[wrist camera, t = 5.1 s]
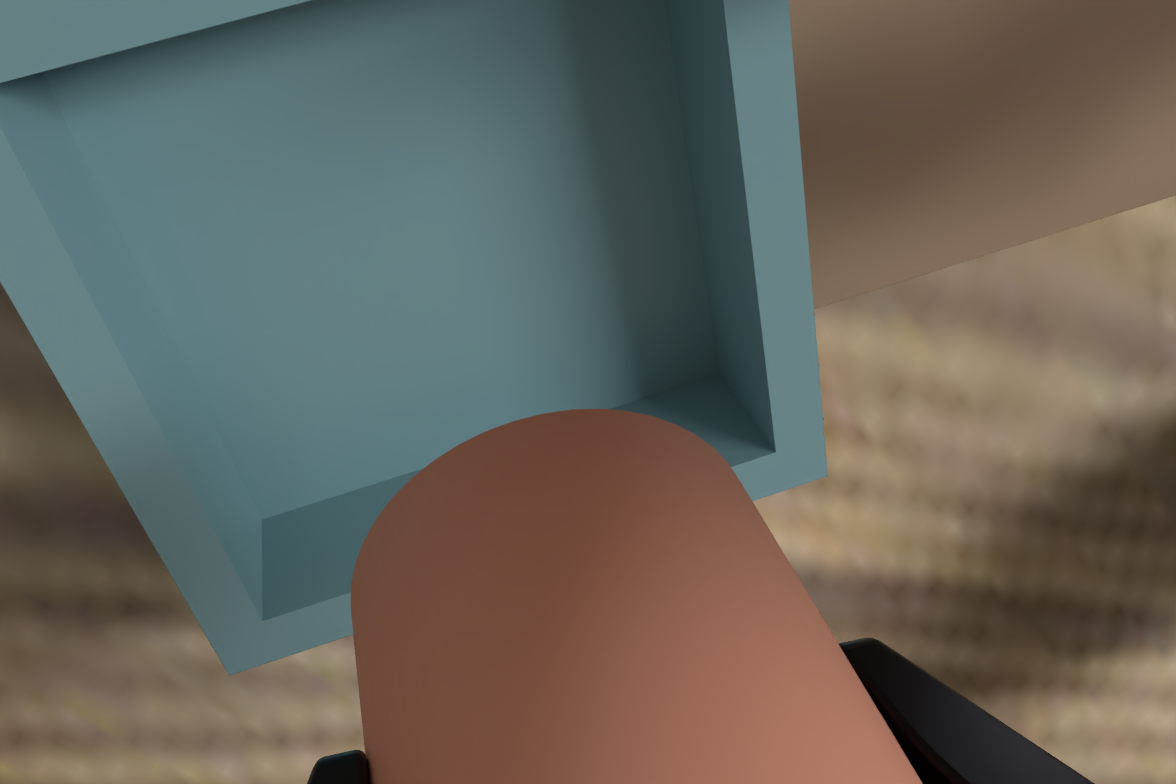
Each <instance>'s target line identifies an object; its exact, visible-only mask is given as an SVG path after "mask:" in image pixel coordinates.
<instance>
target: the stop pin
mask: <svg viewBox="0 0 1176 784" xmlns="http://www.w3.org/2000/svg"><path fill="white" fill-rule="evenodd" d="M350 607H351V617H352V626H353V636H354V646H355V656H356V666H357V676H358V686H359V696H360V706H361V716H362V725H363V735H364V745H365V755H366V759H367V764H368V774H369V783H370V784H923V783H922V782H921V780H920V778H919V777H918V775H917V773H916V772H915V770H914V768H913V767H912V765H911V764H910V762H909V760H908V759H907V757H906V755H905V754H904V752H903V750H902V749H901V747H900V745H899V744H898V742H897V740H896V739H895V737H894V735H893V734H892V732H891V730H890V729H889V727H888V725H887V724H886V722H885V720H884V719H883V717H882V715H881V714H880V712H879V711H878V709H877V707H876V706H875V704H874V702H873V701H872V699H871V697H870V696H869V694H868V692H867V691H866V689H865V687H864V686H863V684H862V682H861V681H860V679H859V677H858V676H857V674H856V672H855V671H854V669H853V667H852V666H851V664H850V662H849V661H848V659H847V658H846V656H845V654H844V653H843V651H842V649H841V648H840V646H839V644H838V643H837V641H836V639H835V638H834V636H833V634H832V633H831V631H830V629H829V628H828V626H827V624H826V623H825V621H824V619H823V618H822V616H821V614H820V613H819V611H818V609H817V608H816V606H815V604H814V603H813V601H812V600H811V598H810V596H809V595H808V593H807V591H806V590H805V588H804V586H803V585H802V583H801V581H800V580H799V578H798V576H797V575H796V573H795V571H794V570H793V568H792V566H791V565H790V563H789V561H788V560H787V558H786V556H785V555H784V553H783V551H782V550H781V548H780V547H779V545H778V543H777V542H776V540H775V538H774V537H773V535H772V533H771V532H770V530H769V528H768V527H767V525H766V523H765V522H764V520H763V518H762V517H761V515H760V513H759V512H758V510H757V508H756V507H755V505H754V503H753V502H752V500H751V498H750V497H749V495H748V494H747V492H746V490H745V489H744V487H743V485H742V484H741V482H740V480H739V479H738V477H737V476H736V474H735V473H734V471H733V470H732V468H731V466H730V465H729V464H728V463H727V461H726V460H725V459H724V458H723V457H722V456H721V455H720V454H719V453H718V452H717V451H716V450H715V449H714V448H713V447H711V446H710V445H709V444H708V443H706V442H705V441H704V440H702V439H701V438H700V437H698V436H697V435H695V434H693V433H691V432H689V431H687V430H686V429H684V428H682V427H680V426H678V425H676V424H673V423H670V422H668V421H665V420H662V419H659V418H656V417H654V416H649V415H644V414H640V413H635V412H630V411H622V410H611V409H572V410H565V411H558V412H551V413H544V414H539V415H535V416H532V417H528V418H524V419H520V420H516V421H512V422H510V423H507V424H504V425H501V426H499V427H496V428H493V429H491V430H488V431H485V432H483V433H481V434H479V435H477V436H475V437H473V438H471V439H469V440H467V441H465V442H463V443H461V444H459V445H457V446H456V447H454V448H452V449H451V450H449V451H448V452H446V453H445V454H443V455H441V456H440V457H438V458H437V459H435V460H434V461H432V462H431V463H430V464H429V465H427V466H426V467H425V468H424V469H422V470H421V471H420V472H419V473H417V474H416V475H415V476H414V477H412V478H411V479H410V480H409V481H408V482H407V483H406V484H405V485H404V486H403V487H402V488H401V489H400V490H399V491H398V492H397V493H396V494H395V495H394V496H393V497H392V499H391V500H390V501H389V503H388V504H387V505H386V506H385V508H384V509H383V510H382V512H381V513H380V514H379V516H378V517H377V518H376V520H375V522H374V523H373V525H372V527H371V529H370V531H369V532H368V534H367V536H366V538H365V539H364V541H363V544H362V547H361V549H360V552H359V555H358V557H357V560H356V563H355V567H354V572H353V577H352V582H351V603H350Z"/></svg>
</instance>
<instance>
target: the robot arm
mask: <svg viewBox="0 0 1176 784" xmlns="http://www.w3.org/2000/svg"><path fill="white" fill-rule="evenodd" d="M839 646H840V648H841V649H842V651H843V653H844V654H845V656H846V658H847V659H848V661H849V662H850V664H851V666H852V667H853V669H854V671H855V672H856V674H857V676H858V677H859V679H860V681H861V682H862V684H863V686H864V687H865V689H866V691H867V692H868V694H869V696H870V697H871V699H872V701H873V702H874V704H875V706H876V707H877V709H878V711H879V712H880V714H881V715H882V717H883V719H884V720H885V722H886V724H887V725H888V727H889V729H890V730H891V732H892V734H893V735H894V737H895V739H896V740H897V742H898V744H899V745H900V747H901V749H902V750H903V752H904V754H905V755H906V757H907V759H908V760H909V762H910V764H911V765H912V767H913V768H914V770H915V772H916V773H917V775H918V777H919V778H920V780H921V782H922V783H923V784H1094V783H1093V782H1091V781H1090V780H1088V779H1087V778H1085V777H1084V776H1082V775H1081V774H1079V773H1078V772H1076V771H1075V770H1073V769H1072V768H1070V767H1069V766H1067V765H1066V764H1064V763H1063V762H1061V761H1060V760H1058V759H1057V758H1055V757H1054V756H1052V755H1051V754H1049V753H1048V752H1046V751H1045V750H1043V749H1042V748H1040V747H1039V746H1037V745H1036V744H1034V743H1033V742H1031V741H1030V740H1028V739H1027V738H1025V737H1024V736H1022V735H1021V734H1019V733H1018V732H1016V731H1015V730H1013V729H1012V728H1010V727H1009V726H1007V725H1006V724H1004V723H1003V722H1001V721H999V720H998V719H996V718H995V717H993V716H992V715H990V714H989V713H987V712H986V711H984V710H983V709H981V708H980V707H978V706H977V705H975V704H974V703H972V702H971V701H969V700H968V699H966V698H965V697H963V696H962V695H960V694H959V693H957V692H956V691H954V690H953V689H951V688H950V687H948V686H947V685H945V684H944V683H942V682H941V681H939V680H938V679H936V678H935V677H933V676H932V675H930V674H929V673H927V672H926V671H924V670H923V669H921V668H920V667H918V666H917V665H915V664H914V663H912V662H911V661H909V660H908V659H906V658H905V657H903V656H902V655H900V654H899V653H897V652H896V651H894V650H893V649H891V648H890V647H888V646H887V645H885V644H884V643H882V642H880V641H879V640H876V639H873V638H862V639H857V640H853V641H848V642H844V643H839ZM307 784H370V783H369V774H368V764H367V759H366V755H365V754H364V752H363V751H360V750H353V751H348V752H343V753H339V754H334V755H330V756H325V757H323V758H320V759H319V760H318V761H317V762H316V764H315V766H314V767H313V770H312V772H311V775H310V777H309V780H308V782H307Z"/></svg>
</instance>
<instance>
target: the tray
mask: <svg viewBox="0 0 1176 784" xmlns="http://www.w3.org/2000/svg"><path fill="white" fill-rule="evenodd" d="M0 282H1V284H2V286H3V287H4V289H5V291H6V293H7V294H8V296H9V298H10V299H11V301H12V303H13V305H14V306H15V308H16V310H17V311H18V313H19V315H20V317H21V318H22V320H23V322H24V324H25V325H26V327H27V329H28V330H29V332H30V334H31V336H32V337H33V339H34V341H35V342H36V344H37V346H38V348H39V349H40V351H41V353H42V354H43V356H44V358H45V360H46V361H47V363H48V365H49V367H50V368H51V370H52V372H53V373H54V375H55V377H56V379H57V380H58V382H59V384H60V385H61V387H62V389H63V391H64V392H65V394H66V396H67V398H68V399H69V401H70V403H71V404H72V406H73V408H74V410H75V411H76V413H77V415H78V416H79V418H80V420H81V422H82V423H83V425H84V427H85V428H86V430H87V432H88V434H89V435H90V437H91V439H92V441H93V442H94V444H95V446H96V447H97V449H98V451H99V453H100V454H101V456H102V458H103V459H104V461H105V463H106V465H107V466H108V468H109V470H110V471H111V473H112V475H113V477H114V478H115V480H116V482H117V484H118V485H119V487H120V489H121V490H122V492H123V494H124V496H125V497H126V499H127V501H128V502H129V504H130V506H131V508H132V509H133V511H134V513H135V515H136V516H137V518H138V520H139V521H140V523H141V525H142V527H143V528H144V530H145V532H146V533H147V535H148V537H149V539H150V540H151V542H152V544H153V545H154V547H155V549H156V551H157V552H158V554H159V556H160V558H161V559H162V561H163V563H164V564H165V566H166V568H167V570H168V571H169V573H170V575H171V576H172V578H173V580H174V582H175V583H176V585H177V587H178V588H179V590H180V592H181V594H182V595H183V597H184V599H185V601H186V602H187V604H188V606H189V607H190V609H191V611H192V613H193V614H194V616H195V618H196V619H197V621H198V623H199V625H200V626H201V628H202V630H203V631H204V633H205V635H206V637H207V638H208V640H209V642H210V644H211V645H212V647H213V649H214V650H215V652H216V654H217V656H218V657H219V659H220V661H221V662H222V664H223V666H224V668H225V669H226V671H227V673H228V675H232V674H235V673H238V672H241V671H244V670H247V669H250V668H253V667H256V666H259V665H262V664H265V663H268V662H271V661H274V660H277V659H280V658H283V657H286V656H289V655H292V654H295V653H298V652H301V651H304V650H307V649H310V648H313V647H316V646H319V645H322V644H325V643H328V642H331V641H334V640H337V639H340V638H343V637H346V636H349V635H352V634H353V626H352V617H351V607H350V603H351V582H352V577H353V572H354V567H355V563H356V560H357V557H358V555H359V552H360V549H361V547H362V544H363V541H364V539H365V538H366V536H367V534H368V532H369V531H370V529H371V527H372V525H373V523H374V522H375V520H376V518H377V517H378V516H379V514H380V513H381V512H382V510H383V509H384V508H385V506H386V505H387V504H388V503H389V501H390V500H391V499H392V497H393V496H394V495H395V494H396V493H397V492H398V491H399V490H400V489H401V488H402V487H403V486H404V485H405V484H406V483H407V482H408V481H409V480H410V479H411V478H412V477H414V476H415V475H416V474H417V473H419V472H420V471H421V470H422V469H424V468H425V467H426V466H427V465H429V464H430V463H431V462H432V461H434V460H435V459H437V458H438V457H440V456H441V455H443V454H445V453H446V452H448V451H449V450H451V449H452V448H454V447H456V446H457V445H459V444H461V443H463V442H465V441H467V440H469V439H471V438H473V437H475V436H477V435H479V434H481V433H483V432H485V431H488V430H491V429H493V428H496V427H499V426H501V425H504V424H507V423H510V422H512V421H516V420H520V419H524V418H528V417H532V416H535V415H539V414H544V413H551V412H558V411H565V410H572V409H611V410H622V411H630V412H635V413H640V414H644V415H649V416H654V417H656V418H659V419H662V420H665V421H668V422H670V423H673V424H676V425H678V426H680V427H682V428H684V429H686V430H687V431H689V432H691V433H693V434H695V435H697V436H698V437H700V438H701V439H702V440H704V441H705V442H706V443H708V444H709V445H710V446H711V447H713V448H714V449H715V450H716V451H717V452H718V453H719V454H720V455H721V456H722V457H723V458H724V459H725V460H726V461H727V463H728V464H729V465H730V466H731V468H732V470H733V471H734V473H735V474H736V476H737V477H738V479H739V480H740V482H741V484H742V485H743V487H744V489H745V490H746V492H747V494H748V495H749V497H750V498H751V500H752V501H754V500H757V499H760V498H763V497H766V496H769V495H772V494H775V493H778V492H781V491H784V490H787V489H790V488H793V487H796V486H799V485H802V484H805V483H808V482H811V481H814V480H817V479H820V478H823V477H826V476H828V474H827V462H826V450H825V438H824V426H823V414H822V402H821V390H820V378H819V365H818V353H817V341H816V329H815V317H814V305H813V293H812V281H811V269H810V257H809V245H808V232H807V220H806V208H805V196H804V184H803V172H802V160H801V148H800V136H799V124H798V112H797V99H796V87H795V75H794V63H793V51H792V39H791V27H790V15H789V3H788V0H0Z"/></svg>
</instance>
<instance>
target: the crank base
mask: <svg viewBox="0 0 1176 784" xmlns="http://www.w3.org/2000/svg"><path fill="white" fill-rule="evenodd" d="M788 3H789V15H790V27H791V39H792V51H793V63H794V75H795V87H796V99H797V112H798V124H799V136H800V148H801V160H802V172H803V184H804V196H805V208H806V220H807V232H808V245H809V257H810V269H811V281H812V293H813V305H814V309H816V308H819V307H822V306H825V305H828V304H832V303H835V302H838V301H841V300H844V299H848V298H851V297H854V296H857V295H860V294H863V293H867V292H870V291H873V290H876V289H879V288H882V287H886V286H889V285H892V284H895V283H898V282H902V281H905V280H908V279H911V278H914V277H917V276H921V275H924V274H927V273H930V272H933V271H937V270H940V269H943V268H946V267H949V266H952V265H956V264H959V263H962V262H965V261H968V260H971V259H975V258H978V257H981V256H984V255H987V254H991V253H994V252H997V251H1000V250H1003V249H1006V248H1010V247H1013V246H1016V245H1019V244H1022V243H1025V242H1029V241H1032V240H1035V239H1038V238H1041V237H1045V236H1048V235H1051V234H1054V233H1057V232H1060V231H1064V230H1067V229H1070V228H1073V227H1076V226H1079V225H1083V224H1086V223H1089V222H1092V221H1095V220H1099V219H1102V218H1105V217H1108V216H1111V215H1114V214H1118V213H1121V212H1124V211H1127V210H1130V209H1134V208H1137V207H1140V206H1143V205H1146V204H1149V203H1153V202H1156V201H1159V200H1162V199H1165V198H1168V197H1172V196H1175V195H1176V0H788Z"/></svg>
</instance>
